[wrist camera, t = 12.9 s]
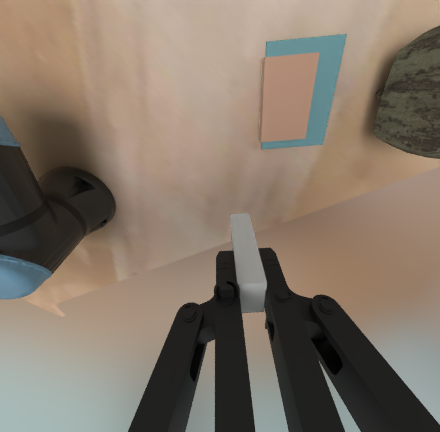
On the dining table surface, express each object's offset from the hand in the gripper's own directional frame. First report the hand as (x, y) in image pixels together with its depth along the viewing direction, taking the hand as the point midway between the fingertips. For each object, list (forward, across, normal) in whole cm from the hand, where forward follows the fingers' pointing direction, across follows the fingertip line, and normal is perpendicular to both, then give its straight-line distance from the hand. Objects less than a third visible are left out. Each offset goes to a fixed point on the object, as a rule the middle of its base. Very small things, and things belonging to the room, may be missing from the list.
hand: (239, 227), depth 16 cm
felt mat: (+26, +13, +7) cm, 30 cm away
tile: (+25, +6, +7) cm, 27 cm away
